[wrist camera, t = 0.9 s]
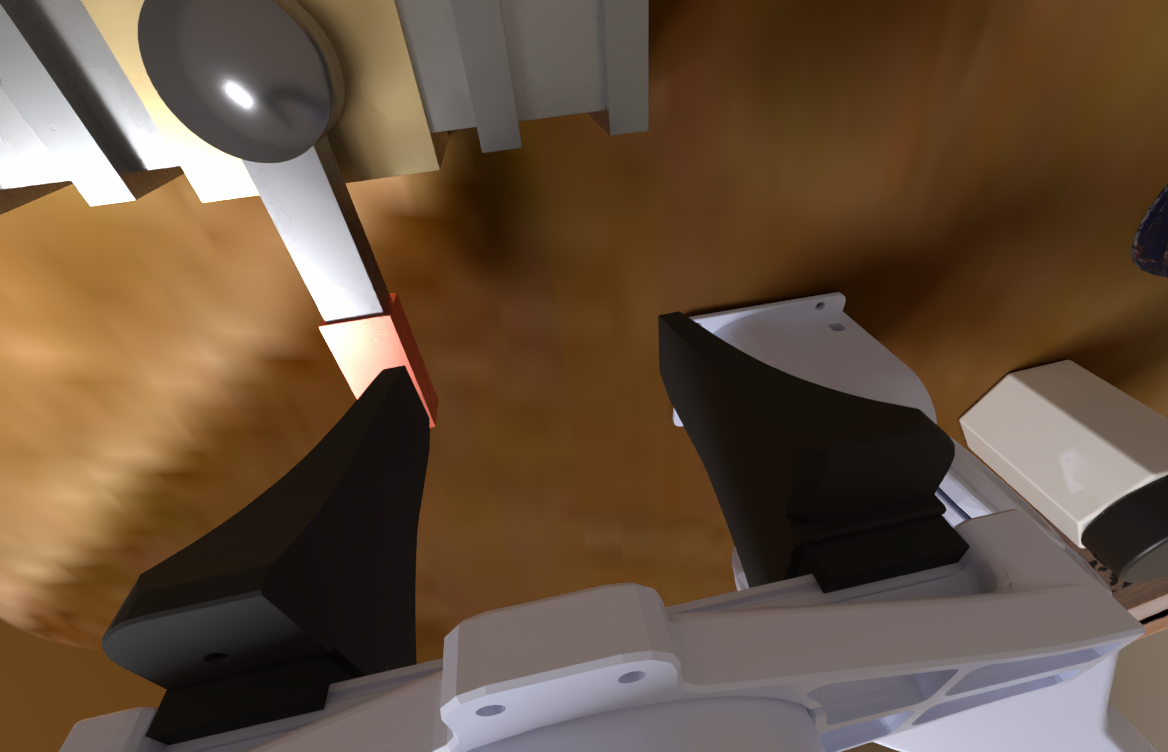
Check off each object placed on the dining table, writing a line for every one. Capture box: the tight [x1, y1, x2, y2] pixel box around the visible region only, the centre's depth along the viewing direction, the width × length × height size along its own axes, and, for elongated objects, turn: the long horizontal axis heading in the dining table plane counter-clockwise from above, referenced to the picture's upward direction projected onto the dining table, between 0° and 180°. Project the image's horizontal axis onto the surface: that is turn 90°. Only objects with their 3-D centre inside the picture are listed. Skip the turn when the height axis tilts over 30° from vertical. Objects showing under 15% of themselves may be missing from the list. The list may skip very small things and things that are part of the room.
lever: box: [138, 0, 438, 427], centre depth 14 cm, size 13×4×2 cm, turn 5°
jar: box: [959, 360, 1168, 583], centre depth 31 cm, size 9×8×12 cm
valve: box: [0, 0, 649, 215], centre depth 14 cm, size 20×6×5 cm, turn 95°
